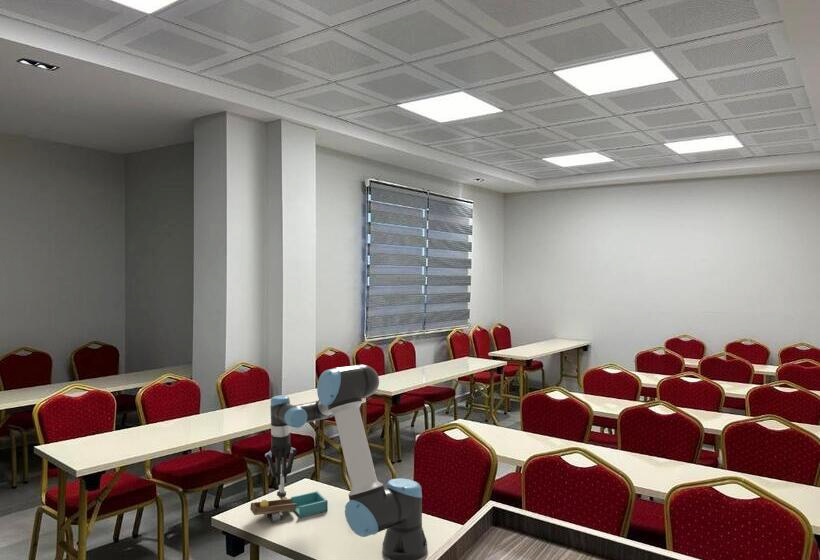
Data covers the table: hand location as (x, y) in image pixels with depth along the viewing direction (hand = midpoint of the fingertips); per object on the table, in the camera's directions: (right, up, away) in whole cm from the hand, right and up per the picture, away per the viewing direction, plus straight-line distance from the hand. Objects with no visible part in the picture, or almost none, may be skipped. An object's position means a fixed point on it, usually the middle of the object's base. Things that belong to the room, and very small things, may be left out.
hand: (281, 491), depth 227 cm
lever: (-2, -3, -9) cm, 10 cm away
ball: (-3, +1, -16) cm, 16 cm away
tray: (+12, -4, -7) cm, 15 cm away
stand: (0, -5, -14) cm, 15 cm away
